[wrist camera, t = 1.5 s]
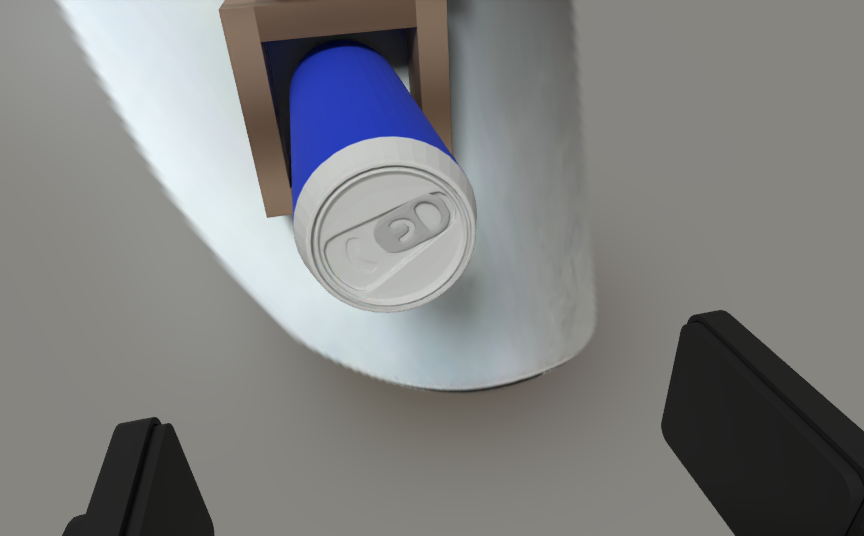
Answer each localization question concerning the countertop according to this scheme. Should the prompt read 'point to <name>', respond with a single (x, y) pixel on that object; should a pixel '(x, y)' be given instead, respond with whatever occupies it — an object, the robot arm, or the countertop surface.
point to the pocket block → (321, 16)
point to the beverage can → (373, 184)
